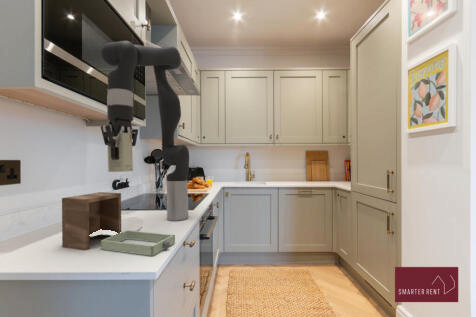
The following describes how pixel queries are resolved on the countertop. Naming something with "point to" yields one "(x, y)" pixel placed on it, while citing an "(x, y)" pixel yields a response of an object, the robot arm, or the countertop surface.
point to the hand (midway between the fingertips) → (121, 159)
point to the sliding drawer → (116, 245)
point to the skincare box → (122, 155)
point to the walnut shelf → (89, 217)
